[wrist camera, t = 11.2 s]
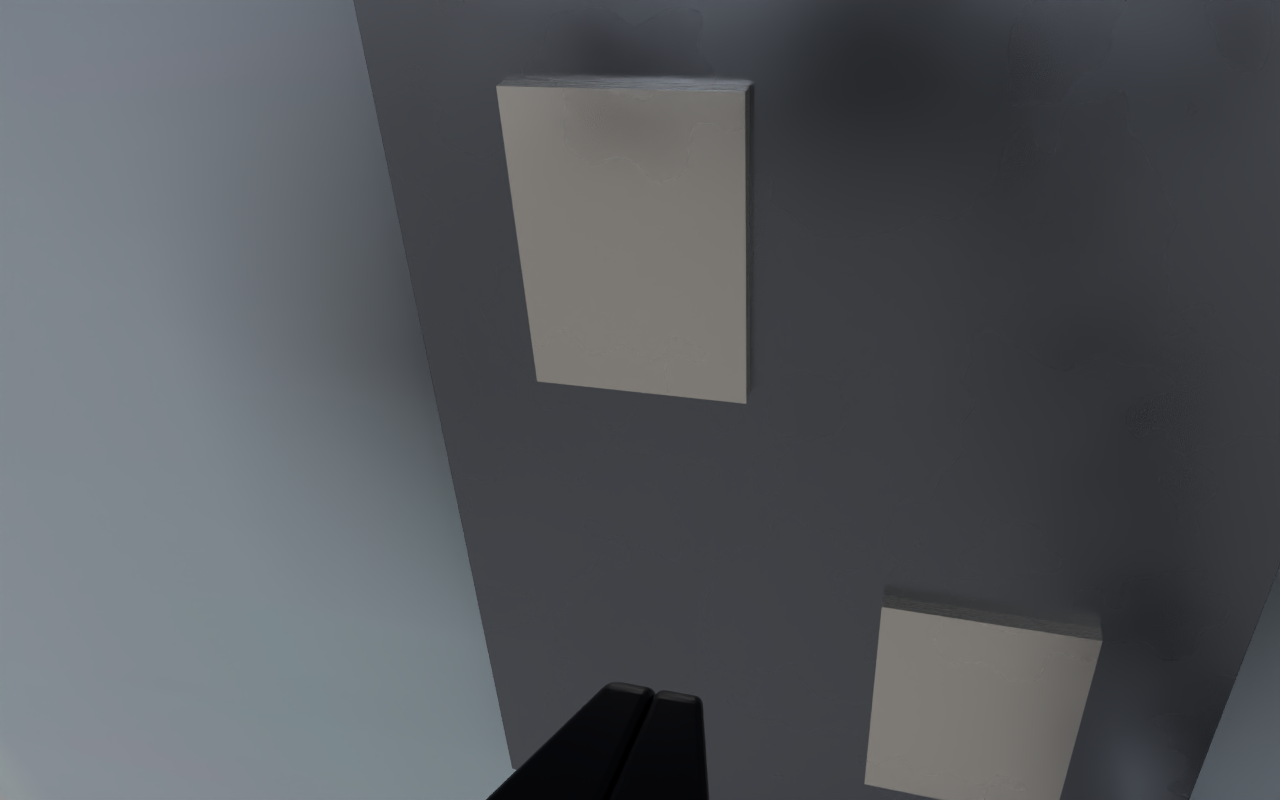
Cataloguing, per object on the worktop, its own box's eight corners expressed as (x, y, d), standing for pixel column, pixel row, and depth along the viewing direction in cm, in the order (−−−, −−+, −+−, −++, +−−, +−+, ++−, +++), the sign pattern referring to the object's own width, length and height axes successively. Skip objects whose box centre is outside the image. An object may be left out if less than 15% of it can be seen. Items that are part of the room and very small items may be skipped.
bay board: (1144, 879, 21) (1149, 920, 20) (521, 748, 25) (507, 778, 24) (1490, -50, 11) (1524, -34, 11) (367, -39, 15) (336, -25, 14)
